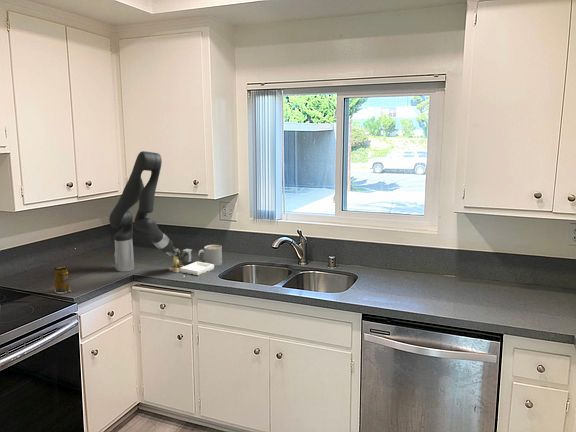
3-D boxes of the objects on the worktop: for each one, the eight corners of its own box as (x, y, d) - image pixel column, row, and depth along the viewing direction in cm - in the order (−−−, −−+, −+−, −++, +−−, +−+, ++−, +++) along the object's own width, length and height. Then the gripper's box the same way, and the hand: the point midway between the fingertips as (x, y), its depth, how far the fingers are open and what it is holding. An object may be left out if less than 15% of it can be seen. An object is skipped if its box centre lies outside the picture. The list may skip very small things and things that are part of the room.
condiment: (67, 287, 227) (65, 264, 225) (74, 291, 222) (72, 267, 219) (51, 291, 222) (49, 267, 220) (58, 295, 216) (56, 271, 214)
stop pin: (171, 267, 254) (170, 249, 252) (176, 266, 257) (176, 248, 255) (177, 269, 252) (176, 251, 250) (182, 267, 255) (181, 249, 253)
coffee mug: (224, 261, 271) (224, 245, 269) (218, 266, 261) (218, 249, 259) (202, 260, 273) (202, 244, 271) (196, 265, 264) (195, 248, 262)
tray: (180, 272, 251) (180, 267, 250) (197, 265, 263) (197, 261, 262) (197, 275, 245) (197, 271, 245) (214, 268, 257) (214, 264, 257)
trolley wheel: (181, 267, 260) (180, 251, 258) (189, 264, 266) (188, 248, 264) (186, 268, 258) (185, 251, 256) (194, 265, 264) (193, 248, 262)
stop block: (169, 270, 253) (169, 267, 253) (177, 267, 259) (176, 264, 258) (177, 272, 251) (177, 269, 250) (185, 269, 256) (185, 266, 255)
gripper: (175, 238, 241) (192, 255, 254) (155, 234, 247) (172, 251, 260) (169, 250, 237) (185, 266, 250) (149, 246, 244) (166, 262, 257)
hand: (179, 258), depth 255 cm, fingers closed on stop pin, 3 cm apart
